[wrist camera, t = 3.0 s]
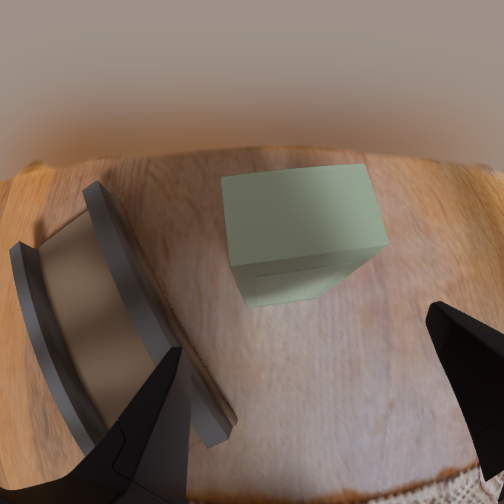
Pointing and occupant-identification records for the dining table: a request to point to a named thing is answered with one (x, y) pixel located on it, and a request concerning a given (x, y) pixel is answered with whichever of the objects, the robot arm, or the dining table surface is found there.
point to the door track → (105, 324)
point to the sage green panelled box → (299, 230)
